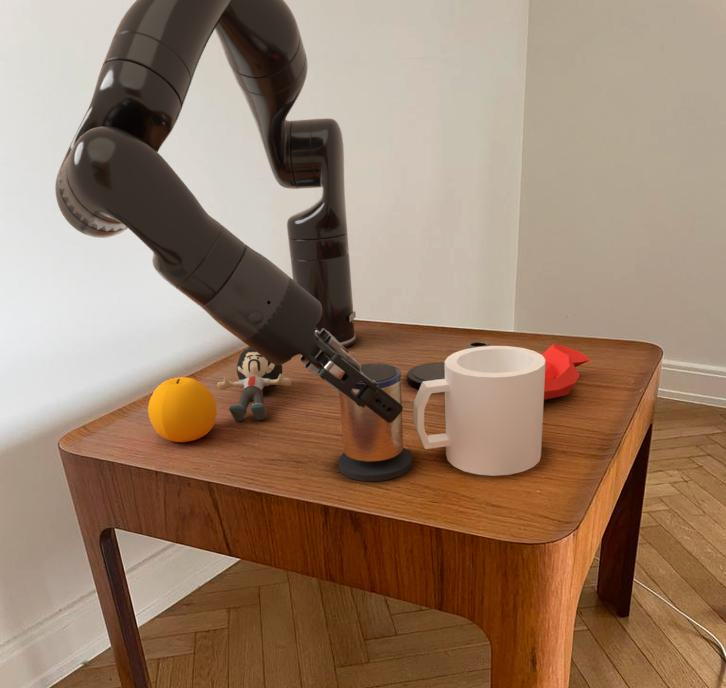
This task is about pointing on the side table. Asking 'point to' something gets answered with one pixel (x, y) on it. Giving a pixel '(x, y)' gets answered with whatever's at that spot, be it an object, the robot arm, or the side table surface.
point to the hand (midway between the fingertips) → (385, 403)
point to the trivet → (376, 467)
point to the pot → (372, 419)
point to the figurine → (254, 383)
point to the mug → (488, 409)
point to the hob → (425, 374)
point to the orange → (182, 409)
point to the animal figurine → (561, 370)
